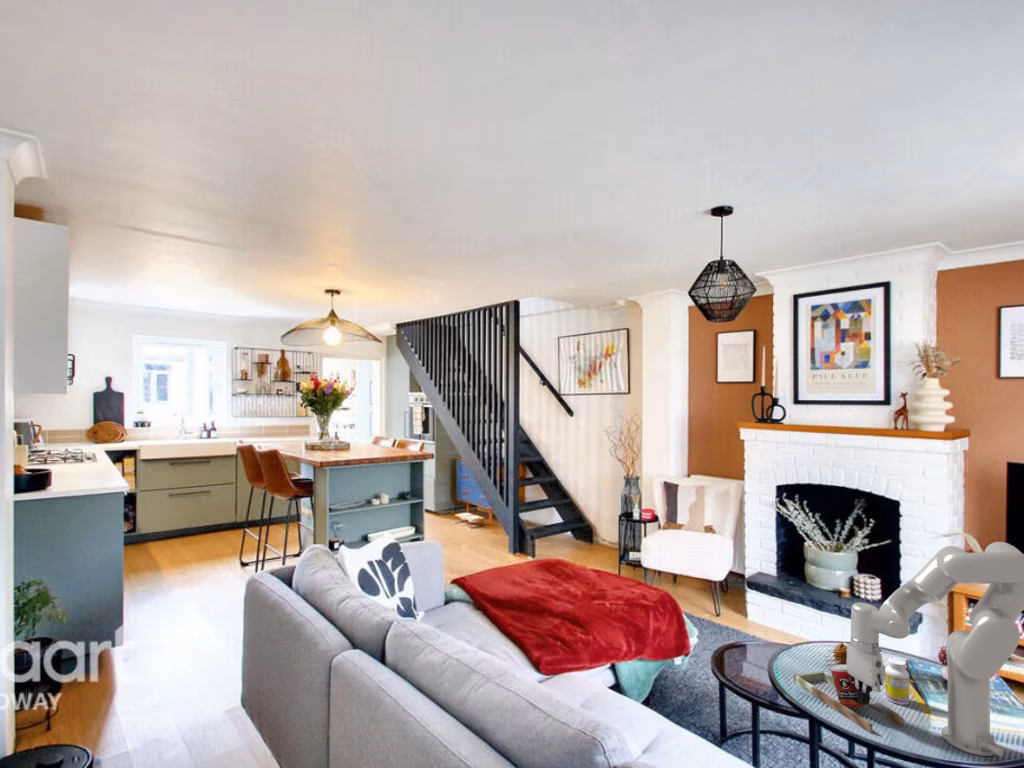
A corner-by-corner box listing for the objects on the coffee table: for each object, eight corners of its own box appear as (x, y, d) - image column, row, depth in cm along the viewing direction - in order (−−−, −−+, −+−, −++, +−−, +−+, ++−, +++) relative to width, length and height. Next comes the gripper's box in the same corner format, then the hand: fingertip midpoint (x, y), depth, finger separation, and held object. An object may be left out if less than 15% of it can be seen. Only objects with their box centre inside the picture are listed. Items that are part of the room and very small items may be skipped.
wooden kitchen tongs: (914, 724, 169) (914, 716, 169) (869, 732, 165) (869, 724, 165) (833, 676, 198) (833, 669, 198) (793, 682, 194) (793, 675, 194)
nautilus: (834, 678, 198) (807, 660, 213) (888, 671, 201) (857, 654, 216) (832, 655, 199) (805, 639, 213) (885, 648, 201) (855, 633, 216)
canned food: (837, 706, 177) (827, 669, 181) (843, 700, 183) (833, 664, 186) (864, 708, 172) (853, 669, 176) (869, 702, 178) (858, 664, 182)
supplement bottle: (887, 692, 188) (887, 654, 188) (911, 700, 183) (911, 661, 183) (882, 700, 183) (882, 661, 183) (907, 708, 178) (906, 668, 178)
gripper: (896, 654, 168) (895, 714, 168) (853, 633, 182) (852, 689, 182) (877, 656, 166) (875, 718, 165) (835, 635, 180) (834, 691, 180)
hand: (863, 702), depth 174 cm, fingers closed
